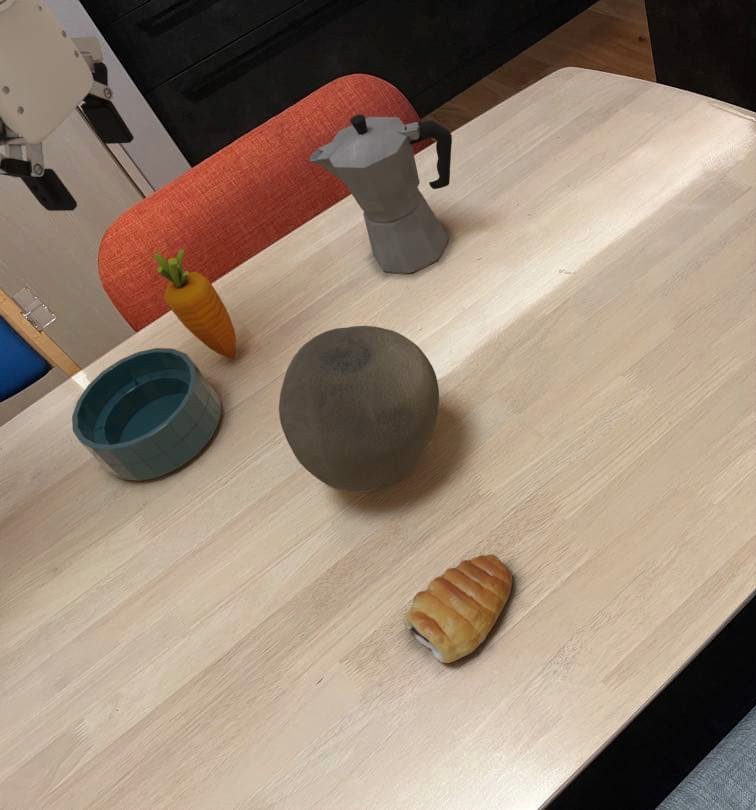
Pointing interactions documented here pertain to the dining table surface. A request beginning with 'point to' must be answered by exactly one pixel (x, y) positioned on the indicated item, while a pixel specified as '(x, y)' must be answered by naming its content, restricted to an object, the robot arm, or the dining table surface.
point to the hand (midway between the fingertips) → (92, 173)
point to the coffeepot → (391, 186)
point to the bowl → (147, 414)
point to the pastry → (460, 607)
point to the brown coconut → (359, 407)
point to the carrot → (197, 305)
